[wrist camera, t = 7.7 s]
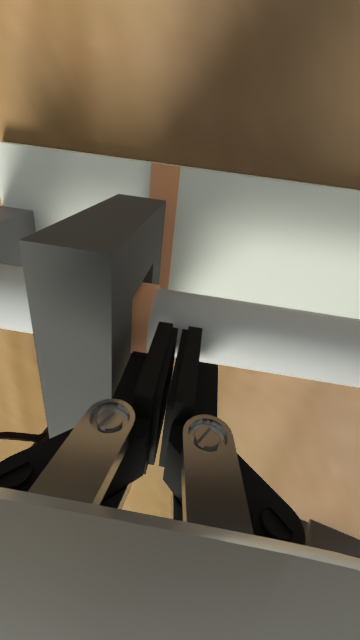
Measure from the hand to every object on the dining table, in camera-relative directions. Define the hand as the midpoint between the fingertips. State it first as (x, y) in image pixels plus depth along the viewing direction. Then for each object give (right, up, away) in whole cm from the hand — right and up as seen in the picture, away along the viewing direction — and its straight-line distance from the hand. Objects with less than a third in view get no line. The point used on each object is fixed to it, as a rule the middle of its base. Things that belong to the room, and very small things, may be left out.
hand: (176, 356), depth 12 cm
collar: (-2, +4, +6) cm, 8 cm away
